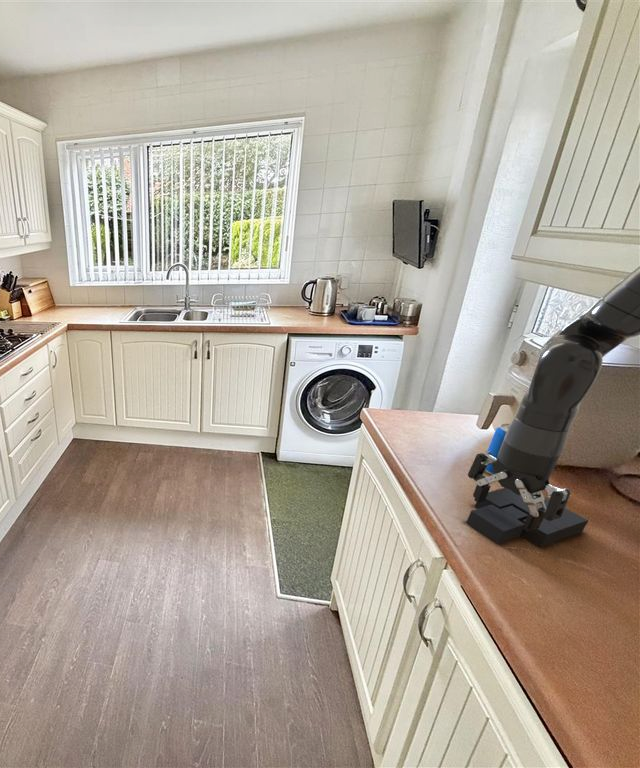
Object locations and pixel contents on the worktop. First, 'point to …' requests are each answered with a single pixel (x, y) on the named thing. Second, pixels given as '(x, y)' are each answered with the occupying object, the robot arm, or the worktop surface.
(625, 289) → the robot arm
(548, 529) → the base pad
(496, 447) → the beverage can
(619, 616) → the worktop surface
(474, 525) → the pad
